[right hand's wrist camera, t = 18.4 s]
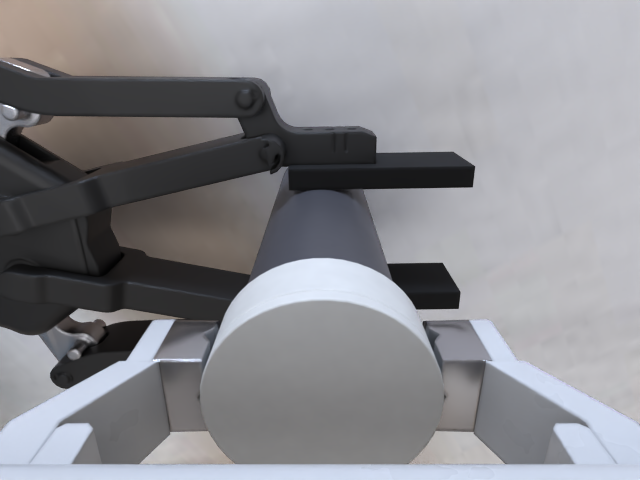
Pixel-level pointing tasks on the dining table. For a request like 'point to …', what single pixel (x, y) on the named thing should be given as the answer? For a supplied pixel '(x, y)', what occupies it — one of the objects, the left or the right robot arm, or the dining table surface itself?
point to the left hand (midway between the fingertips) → (454, 229)
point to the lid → (321, 370)
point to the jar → (319, 230)
